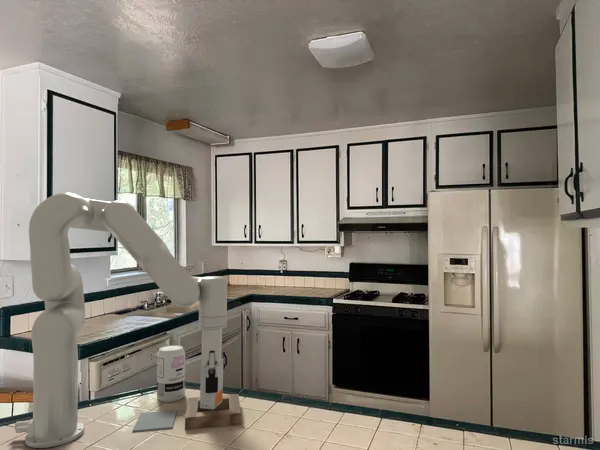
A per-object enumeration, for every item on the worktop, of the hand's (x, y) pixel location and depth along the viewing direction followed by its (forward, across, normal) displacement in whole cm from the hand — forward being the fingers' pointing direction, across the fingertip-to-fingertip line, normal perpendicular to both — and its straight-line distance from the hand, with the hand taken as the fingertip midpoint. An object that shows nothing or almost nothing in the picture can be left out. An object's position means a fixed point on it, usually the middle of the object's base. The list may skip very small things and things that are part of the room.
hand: (211, 387), depth 114 cm
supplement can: (+8, -17, -12) cm, 23 cm away
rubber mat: (+8, 0, -14) cm, 17 cm away
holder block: (+8, 0, 0) cm, 8 cm away
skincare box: (+5, 0, 0) cm, 5 cm away
